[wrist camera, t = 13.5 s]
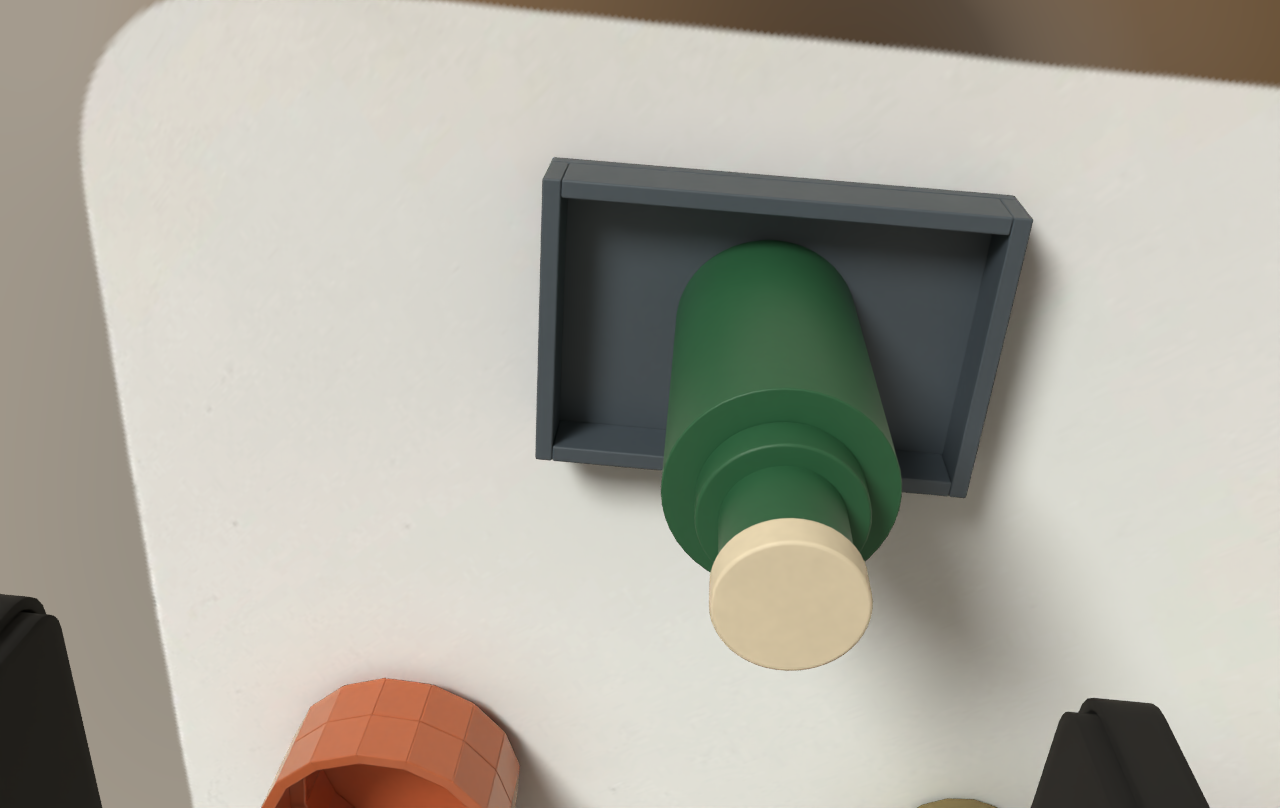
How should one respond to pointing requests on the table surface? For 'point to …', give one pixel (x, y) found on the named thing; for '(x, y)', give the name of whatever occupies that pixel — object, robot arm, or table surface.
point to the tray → (784, 211)
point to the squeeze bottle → (956, 804)
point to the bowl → (396, 752)
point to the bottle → (778, 453)
